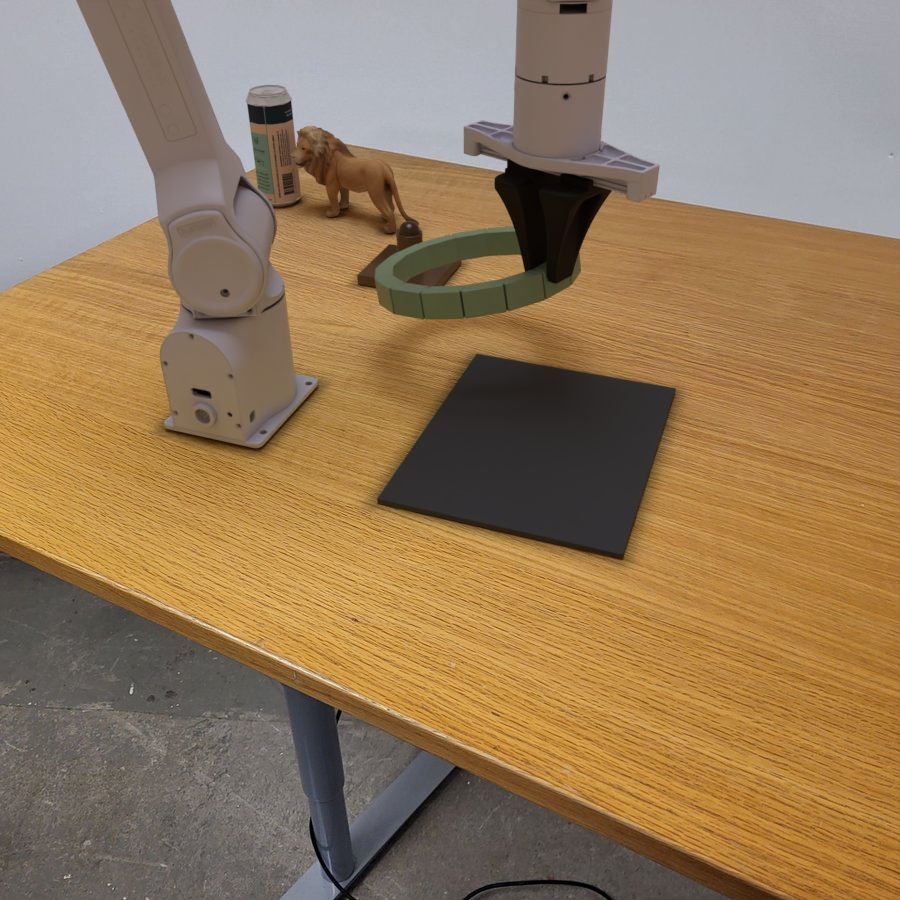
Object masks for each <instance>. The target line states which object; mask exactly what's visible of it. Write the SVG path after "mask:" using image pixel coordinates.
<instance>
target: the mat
mask: <svg viewBox="0 0 900 900" xmlns="http://www.w3.org/2000/svg"><path fill="white" fill-rule="evenodd" d="M676 391H677V388H676V387H671V386H665V385H658V384H655V383H654V384H653V383H648V382H642V381H637V380H631V379H625V378H620V377H619V378H618V377H613V376H608V375H602V374H595V373H591V372H586V371H585V372H584V371H579V370H573V369H569V368H568V369H567V368H562V367H556V366H550V365H544V364H538V363H533V362H528V361H522V360H515V359H510V358H504V357H498V356H493V355H487V354H481V353H476V354H475V355H474V357H473V358H472V359H471V361H470V363H469V364H468V365H467V367H466V368H465V370H464V372H463V373H462V374H461V376H460V377H459V379H458V380H457V382H456V383H455V384H454V386H453V387H452V389H451V390H450V391H449V393H448V395H447V396H446V398H445V399H444V400H443V401H442V403H441V405H440V406H439V408H438V409H437V411H436V412H435V414H433V417H432V418H431V419H430V421H429V422H428V424H427V425H426V426H425V427H424V429H423V430H422V432H421V434H420V435H419V437H418V439H417V440H416V441H415V442H414V444H413V446H412V447H411V448H410V450H409V451H408V452H407V454H406V456H405V457H404V459H403V460H402V462H401V463H400V465H399V466H398V467H397V468H396V470H395V472H394V473H393V474H392V476H391V478H390V479H389V480H388V482H387V484H386V485H385V486H384V488H383V489H382V491H381V493H379V495H378V497H377V498H376V499H377V500H376V503H377V504H380V505H384V506H389V507H392V508H398V509H402V510H404V511H405V510H406V511H411V512H414V513H418V514H424V515H427V516H432V517H436V518H441V519H445V520H449V521H452V522H453V521H454V522H457V523H462V524H467V525H471V526H476V527H480V528H484V529H489V530H492V531H497V532H501V533H506V534H510V535H515V536H519V537H524V538H528V539H532V540H536V541H541V542H545V543H549V544H554V545H559V546H563V547H567V548H572V549H576V550H581V551H584V552H589V553H593V554H597V555H601V556H606V557H609V558H610V557H611V558H615V559H619V560H623V559H624V556H625V553H626V549H627V547H628V543H629V540H630V536H631V533H632V530H633V527H634V524H635V521H636V518H637V514H638V512H639V508H640V505H641V502H642V499H643V496H644V493H645V490H646V487H647V484H648V480H649V476H650V475H651V474H650V473H651V470H652V467H653V464H654V462H655V458H656V456H657V451H658V450H659V449H658V448H659V445H660V442H661V440H662V436H663V432H664V429H665V427H666V423H667V421H668V417H669V413H670V410H671V408H672V404H673V401H674V399H675V396H676V395H675V394H676Z"/></svg>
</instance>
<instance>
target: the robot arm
mask: <svg viewBox="0 0 900 900" xmlns="http://www.w3.org/2000/svg"><path fill="white" fill-rule="evenodd" d="M75 1H76V3H77V6H78V8H79V10H80V12H81V14H82V18H83V19H84V22H85V23H86V26H87V28H88V31H89V33H90V35H91V37H92V39H93V41H94V44H95V46H96V49H97V50H98V53H99V55H100V58H101V60H102V63H103V65H104V66H105V69H106V71H107V73H108V76H109V78H110V81H111V82H112V86H113V87H114V89H115V91H116V93H117V96H118V99H119V101H120V103H121V105H122V107H123V109H124V112H125V114H126V116H127V119H128V121H129V123H130V125H131V127H132V130H133V132H134V134H135V137H136V139H137V141H138V143H139V146H140V148H141V150H142V152H143V154H144V156H145V159H146V161H147V164H148V166H149V168H150V170H151V172H152V173H151V174H152V176H153V180H154V181H153V182H154V189H155V197H156V199H155V200H156V207H157V208H156V209H157V215H158V222H159V225H160V227H161V230H162V231H163V234H164V237H165V239H166V243H167V247H168V255H167V275H168V278H169V282H170V284H171V286H172V288H173V290H174V292H175V293H176V295H177V296H178V297H179V301H180V302H179V312H178V316H177V320H176V321H175V324H174V326H173V327H172V329H171V330H170V332H169V333H168V334H167V335H166V337H164V340H163V341H162V343H161V345H160V349H159V362H160V368H161V373H162V377H163V381H164V386H165V391H166V397H167V400H168V405H169V409H170V415H169V416H168V417H167V418H166V419H165V420H164V421H163V426H164V428H165V429H167V430H170V431H175V432H180V433H183V434H188V435H193V436H197V437H202V438H207V439H212V440H216V441H221V442H225V443H230V444H234V445H239V446H243V447H247V448H251V449H252V448H253V449H259V448H261V447H263V446H264V445H265V444H266V443H267V442H268V441H269V440H270V439H271V438H272V436H273V435H274V434H275V433H276V432H278V430H279V429H280V427H282V425H284V423H286V421H287V420H288V419H289V418H290V417H291V416H292V415H293V414H294V412H295V411H296V410H297V409H298V408H299V407H300V406H301V404H303V402H304V401H305V400H306V399H307V398H308V397H309V396H310V395H311V394H312V393H313V391H314V390H315V389H316V388H317V387H318V386H319V379H318V378H317V377H314V376H309V375H304V374H298V373H296V372H295V371H296V370H295V363H294V356H293V355H294V354H293V346H292V338H291V337H292V336H291V329H290V321H289V312H288V305H287V296H286V288H285V281H284V279H283V277H282V275H280V273H278V271H277V270H276V269H275V268H274V266H273V264H272V262H271V261H270V257H271V251H272V245H273V244H274V242H275V239H276V235H277V231H278V219H277V215H276V211H275V209H274V206H272V205H271V203H270V201H269V200H268V198H267V197H266V196H265V195H264V194H263V193H262V192H261V191H260V190H259V189H258V186H256V185H255V184H254V183H253V182H252V180H251V179H250V178H249V176H248V174H247V172H246V170H245V167H244V165H243V162H242V160H241V158H240V156H239V155H238V154H237V153H236V152H235V150H234V149H233V148H232V147H231V146H230V145H229V144H228V143H227V141H226V139H225V137H224V133H223V132H222V129H221V126H220V124H219V121H218V118H217V115H216V113H215V111H214V108H213V105H212V103H211V100H210V98H209V95H208V92H207V90H206V88H205V85H204V82H203V80H202V77H201V75H200V72H199V69H198V67H197V64H196V61H195V59H194V56H193V54H192V51H191V49H190V46H189V43H188V42H187V41H188V40H187V38H186V36H185V33H184V31H183V28H182V25H181V24H180V23H181V22H180V20H179V18H178V15H177V12H176V10H175V7H174V4H173V2H172V0H75ZM613 4H614V0H516V27H515V28H516V29H515V60H514V61H515V62H514V85H513V86H514V87H513V89H514V90H513V118H512V119H513V120H512V121H513V122H512V123H513V124H507V123H498V122H492V121H488V120H483V119H481V120H478V121H476V122H472V123H469V124H467V125H464V126H463V154H464V155H467V156H471V157H478V156H480V155H482V156H485V157H489V158H493V159H496V160H500V161H503V162H506V168H505V169H504V172H503V173H501V174H498V175H496V176H495V177H494V181H493V182H494V183H493V186H494V187H493V188H494V190H495V191H496V193H497V194H498V196H499V198H500V200H501V201H502V203H503V205H504V207H505V209H506V212H507V213H508V215H509V218H510V220H511V223H512V227H513V226H514V229H515V232H516V236H517V239H518V243H519V247H520V252H521V255H520V256H521V260H522V261H521V262H522V266H523V270H524V272H526V271H529V270H532V269H534V268H535V267H537V266H539V265H541V264H543V263H545V262H547V263H546V270H547V278H548V281H549V282H551V283H554V284H557V283H559V282H561V281H563V280H564V279H566V278H568V277H570V276H572V274H573V270H574V267H575V263H576V260H577V257H578V254H579V253H580V251H581V248H582V247H583V246H582V245H583V244H584V240H585V238H586V236H587V233H588V232H589V229H590V227H591V225H592V223H593V221H594V219H595V218H596V216H597V215H598V213H599V211H600V209H601V208H602V206H603V205H604V203H605V202H606V200H607V199H608V197H609V196H610V194H611V193H612V192H616V193H619V194H622V195H626V196H625V198H626V200H628V201H632V202H635V203H641V202H643V201H646V200H648V199H650V198H652V197H653V196H655V195H656V194H657V190H658V184H659V183H658V181H659V173H660V164H659V163H656V162H653V161H649V160H646V159H643V158H640V157H637V156H636V155H633V154H632V153H629V152H627V151H625V150H622V149H620V148H618V147H616V146H614V145H611V144H610V143H607V142H605V141H603V140H602V129H603V128H602V127H603V119H604V118H603V116H604V104H605V95H606V93H605V92H606V82H607V73H608V61H609V48H610V38H611V37H610V36H611V26H612V16H613V15H612V14H613Z"/></svg>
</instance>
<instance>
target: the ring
mask: <svg viewBox="0 0 900 900" xmlns="http://www.w3.org/2000/svg"><path fill="white" fill-rule="evenodd" d="M495 256H496V257H499V256H521V252H520V247H519V243H518V239H517V236H516V232H515V229H514V226H513V225H512V226H497V227H496V226H495V227H486V228H479V229H478V228H477V229H472V230H466V231H460V232H455V233H451V234H445V235H442V236H439V237H435V238H432V239H428V240H423V242H421V243H419V244H415V245H413V246H411V247H408V248H406V249H404V250H402V251H399V252H397V253H395V254H393V255H391V256H390V257H388V258H387V259H386V260H385V261H384V262H382V263H381V264H380V265H379V266H377V268H376V270H375V284H376V287H375V289H376V294H377V299H378V304H379V306H381V307H382V308H384V309H386V310H387V311H389V312H390V313H391V314H393V315H396V316H399V317H401V316H402V317H406V318H412V319H418V320H426V321H429V320H431V321H434V320H464V319H472V318H478V317H486V316H492V315H498V314H503V313H507V312H513V311H515V310H518V309H521V308H525V307H528V306H531V305H534V304H538V303H541V302H544V301H545V300H549V299H550V298H552V297H554V296H555V295H557V294H559V293H561V292H562V291H564V290H566V289H568V288H569V287H571V286H572V285H573V284H574V283H575V281H576V280H577V278H578V277H579V275H580V274H581V272H582V265H581V254H580V252H579V254H578V257H577V260H576V263H575V267H574V270H573V274H572V276H570V277H568V278H566V279H564V280H563V281H561V282H559V283H557V284H554V283H551V282H549V281H548V278H547V270H546V263H547V262H545V263H543V264H541V265H539V266H537V267H535V268H534V269H532V270H529V271H526V272H525V271H522V272H519V273H515V274H512V275H509V276H506V277H503V278H499V279H493V280H488V281H482V282H476V283H475V282H474V283H469V284H464V285H463V284H462V285H443V286H423V285H416V284H410V283H406V282H407V281H408V280H409V279H410V278H413V277H415V276H417V275H419V274H421V273H423V272H425V271H427V270H430V269H433V268H436V267H439V266H443V265H446V264H450V263H453V262H457V261H467V260H474V259H479V258H486V257H495Z"/></svg>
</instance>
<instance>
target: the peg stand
mask: <svg viewBox="0 0 900 900" xmlns="http://www.w3.org/2000/svg"><path fill="white" fill-rule="evenodd" d="M423 237H424V236H423V230H422V229H420V225H417V224H416V223H415V222H413V221H406V220H405V221H403V222H402V223H401V224H400V226H399V228H398V230H397V231H396V244H392V243H390V244H388V245H387V246H386V247H385V248H384V249H383V250H381V252H379V253H378V255H376V256H375V258H373V259H372V260H371V261H370V262H369V263H368V264H367V265H366V266H365V267H364V268H363V269H362V270H360V272H359V273H358V274H357V275H356V276H357V285H359V286H367V287H373V288H376V284H375V270H376V268H377V266H379V265H380V264H381V263H382V262H384V261H385V260H386V259H387V258H388V257H390V256H391V255H393V254H395V253H397V252H399V251H402V250H404V249H406V248H408V247H411V246H413V245H415V244H419V243H421V242H424V238H423ZM462 261H463V260H462ZM462 261H457V262H453V263H450V264H446V265H443V266H439V267H436V268H433V269H430V270H427V271H425V272H423V273H421V274H419V275H417V276H415V277H413V278H410V279H409V280H408V281H407V282H406V283H410V284H416V285H423V286H445V284H446V282H448V281H449V279H450V278H451V277H452V276H453V274H454V273H455V272H456V271H457V270H458V268H460V266H461V265H462Z"/></svg>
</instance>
